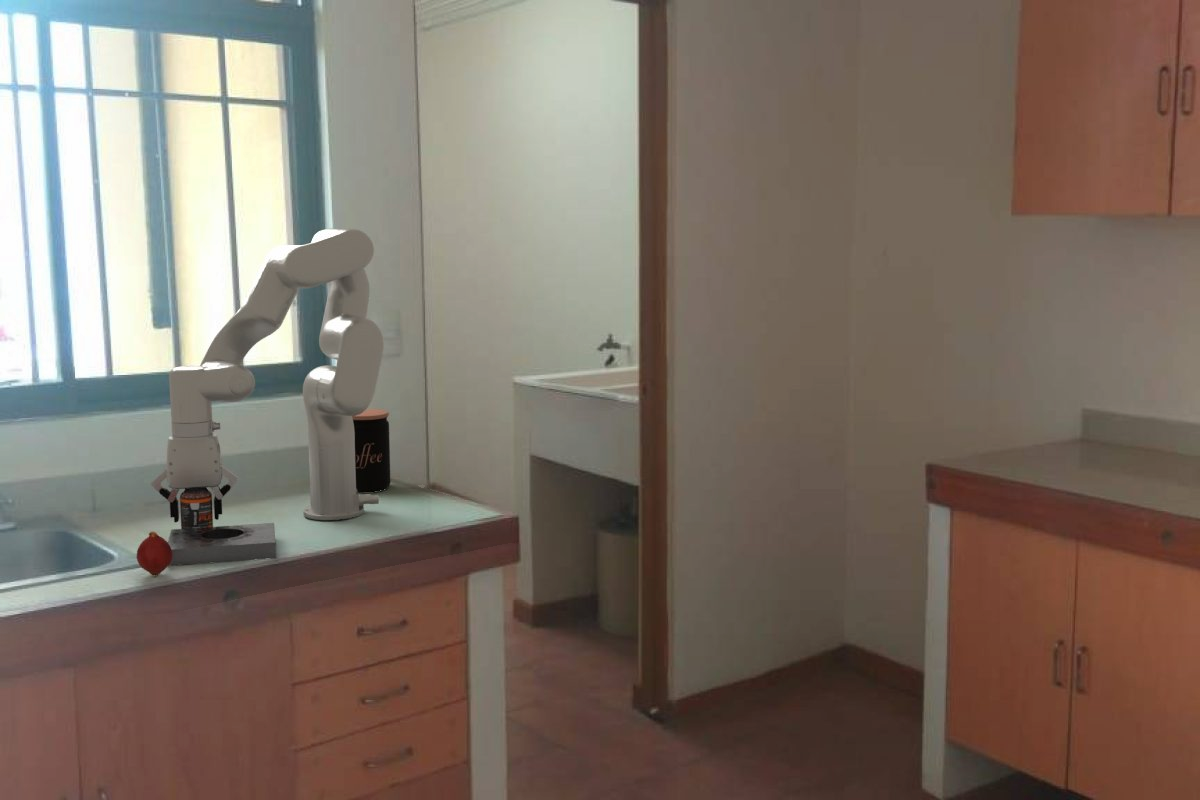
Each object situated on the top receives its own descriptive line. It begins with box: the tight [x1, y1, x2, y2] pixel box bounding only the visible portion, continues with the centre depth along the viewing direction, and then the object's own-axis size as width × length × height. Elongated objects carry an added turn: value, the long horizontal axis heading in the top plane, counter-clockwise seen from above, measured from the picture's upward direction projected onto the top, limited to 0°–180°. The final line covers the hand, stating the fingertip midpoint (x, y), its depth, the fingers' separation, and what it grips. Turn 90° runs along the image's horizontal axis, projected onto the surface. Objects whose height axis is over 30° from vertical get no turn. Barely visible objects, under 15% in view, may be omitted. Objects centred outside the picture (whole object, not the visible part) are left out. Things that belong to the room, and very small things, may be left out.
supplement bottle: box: [179, 487, 214, 529], centre depth 231 cm, size 6×6×11 cm
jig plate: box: [167, 522, 277, 567], centre depth 222 cm, size 19×15×3 cm
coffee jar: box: [352, 408, 391, 493], centre depth 274 cm, size 11×11×18 cm
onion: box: [136, 530, 172, 577], centre depth 206 cm, size 6×6×8 cm
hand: (196, 518), depth 232 cm, fingers open, 6 cm apart
